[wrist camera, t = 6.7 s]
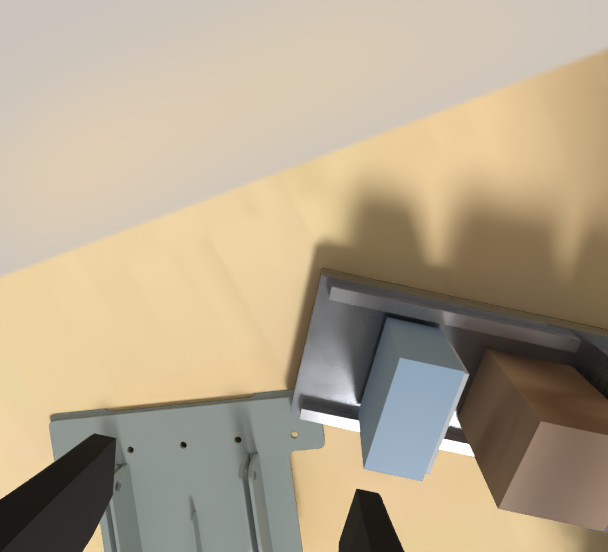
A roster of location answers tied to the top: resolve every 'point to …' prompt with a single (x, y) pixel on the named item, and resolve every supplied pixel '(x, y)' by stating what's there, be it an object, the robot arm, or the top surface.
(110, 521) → the metal bracket
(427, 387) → the block
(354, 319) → the vise
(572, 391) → the block
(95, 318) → the top surface
